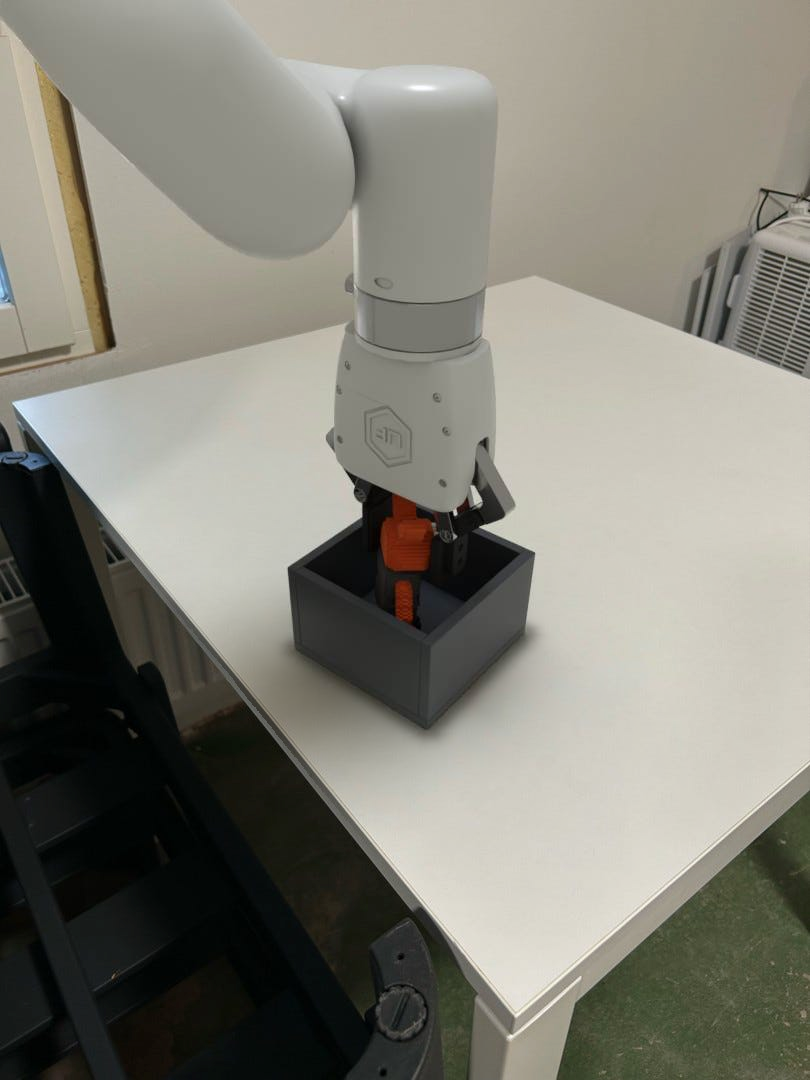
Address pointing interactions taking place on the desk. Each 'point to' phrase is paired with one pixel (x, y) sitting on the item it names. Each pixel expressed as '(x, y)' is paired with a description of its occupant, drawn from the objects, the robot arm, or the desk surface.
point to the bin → (396, 647)
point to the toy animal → (403, 561)
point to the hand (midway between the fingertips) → (412, 557)
